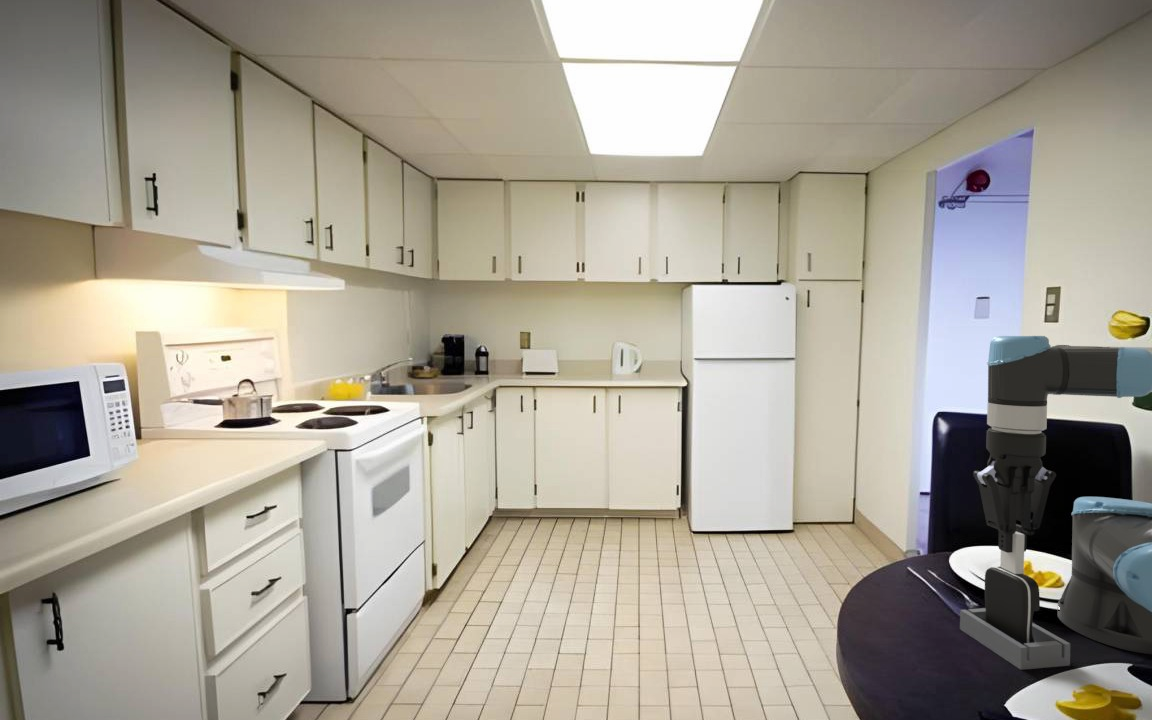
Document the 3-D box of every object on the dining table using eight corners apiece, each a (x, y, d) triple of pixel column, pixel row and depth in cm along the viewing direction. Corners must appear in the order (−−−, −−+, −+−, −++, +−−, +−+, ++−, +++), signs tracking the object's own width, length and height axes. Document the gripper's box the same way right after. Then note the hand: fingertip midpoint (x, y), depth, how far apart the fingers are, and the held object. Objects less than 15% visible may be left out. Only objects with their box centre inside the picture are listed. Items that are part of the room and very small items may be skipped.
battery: (1043, 648, 85) (1044, 579, 85) (1024, 651, 84) (1025, 582, 84) (1000, 625, 92) (1001, 561, 92) (983, 628, 91) (983, 563, 91)
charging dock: (1003, 625, 94) (1004, 606, 94) (1069, 665, 83) (1070, 643, 83) (959, 629, 94) (960, 609, 93) (1020, 669, 82) (1021, 647, 82)
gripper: (1029, 424, 91) (1026, 558, 92) (960, 426, 90) (957, 562, 91) (1075, 432, 83) (1070, 578, 85) (999, 434, 82) (995, 582, 83)
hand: (1011, 570), depth 88 cm, fingers closed
